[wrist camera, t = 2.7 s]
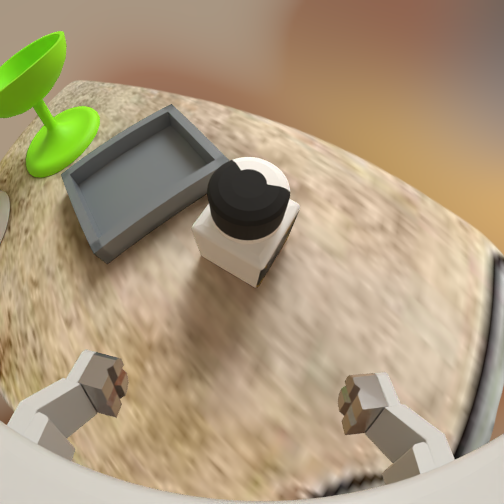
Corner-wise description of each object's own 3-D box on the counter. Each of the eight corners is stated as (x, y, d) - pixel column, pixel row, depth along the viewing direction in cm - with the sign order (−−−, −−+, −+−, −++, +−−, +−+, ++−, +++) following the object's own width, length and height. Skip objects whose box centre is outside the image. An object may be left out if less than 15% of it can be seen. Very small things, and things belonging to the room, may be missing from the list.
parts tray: (107, 263, 29) (93, 253, 25) (72, 188, 32) (60, 174, 29) (230, 178, 33) (230, 161, 30) (175, 121, 37) (171, 104, 33)
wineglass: (64, 184, 32) (1, 100, 15) (13, 172, 33) (-38, 110, 16) (116, 108, 38) (86, 23, 21) (59, 107, 39) (26, 42, 22)
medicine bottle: (257, 289, 29) (268, 248, 17) (199, 255, 30) (178, 198, 18) (289, 235, 31) (314, 172, 20) (234, 206, 32) (233, 133, 21)
